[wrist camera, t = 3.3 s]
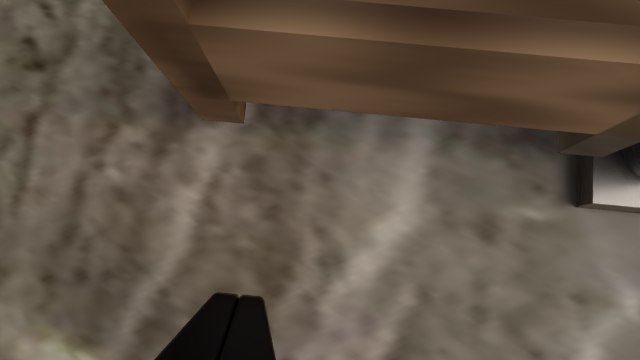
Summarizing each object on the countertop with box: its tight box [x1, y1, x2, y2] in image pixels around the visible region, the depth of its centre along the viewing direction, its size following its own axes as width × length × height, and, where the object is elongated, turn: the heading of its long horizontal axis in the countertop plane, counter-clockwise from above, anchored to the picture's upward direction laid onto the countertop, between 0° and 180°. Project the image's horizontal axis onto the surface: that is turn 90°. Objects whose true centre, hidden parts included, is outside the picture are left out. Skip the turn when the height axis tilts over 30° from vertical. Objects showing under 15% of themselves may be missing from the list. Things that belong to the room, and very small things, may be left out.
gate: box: [102, 0, 640, 157], centre depth 13 cm, size 14×1×11 cm, turn 84°
